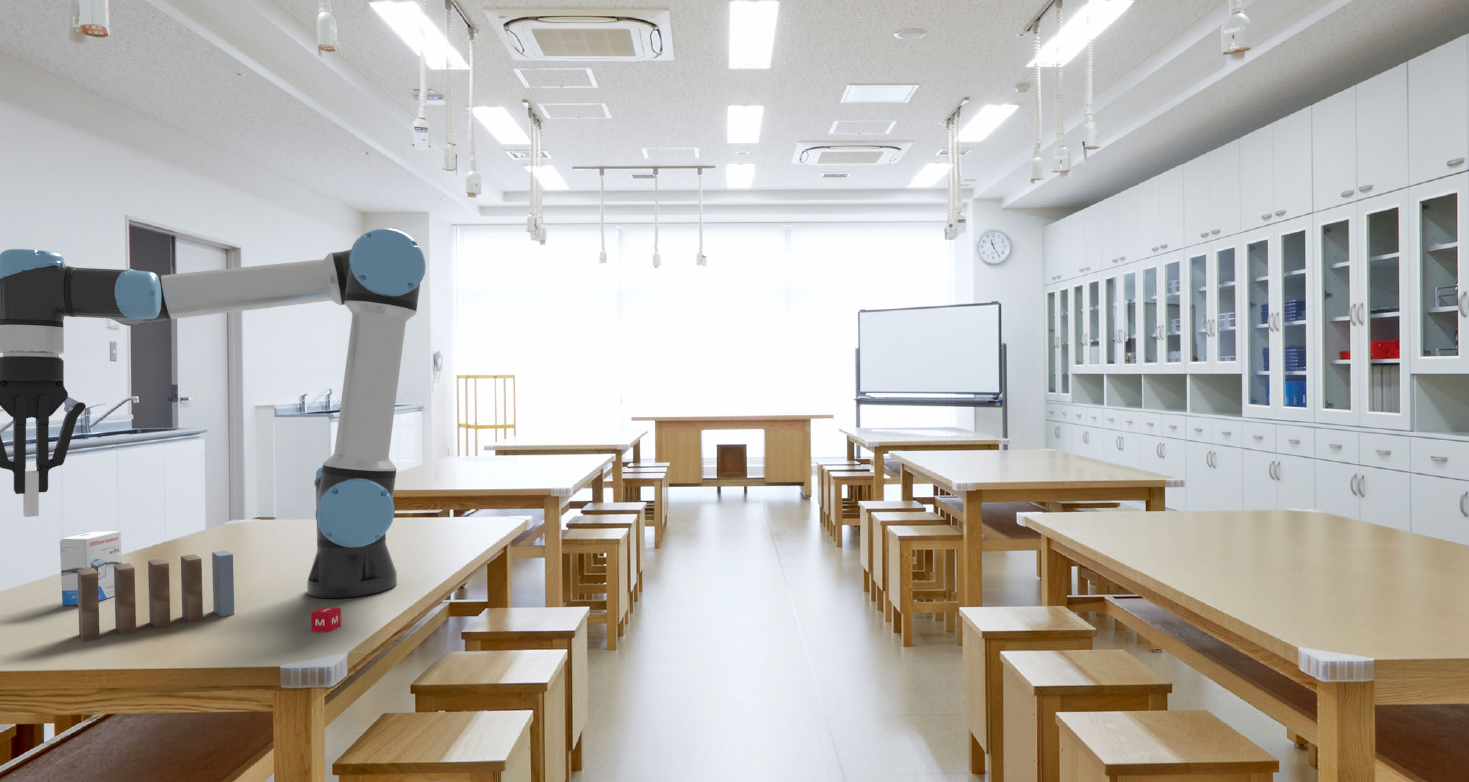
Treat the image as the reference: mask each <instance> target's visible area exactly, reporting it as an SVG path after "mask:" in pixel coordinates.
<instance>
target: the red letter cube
mask: <svg viewBox="0 0 1469 782" xmlns="http://www.w3.org/2000/svg"><path fill="white" fill-rule="evenodd" d="M341 611H342V610H341V607H333V606H332V607H330V606H329V607H328V606H327V607H324V606H323V607H321V608H318V609H316V610H314V611H311V612H310V620H311V621H310V623H311V624H310V625H311V626H310V627H311V628H310V631H311V632H313V633H314V632H316V633H317V632H318V633H319V632H321V633H329V632H333V631H334V630H336V629H338V628H340V627H342V618H341V617H342V615H341Z"/></svg>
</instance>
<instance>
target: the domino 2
mask: <svg viewBox="0 0 1469 782" xmlns="http://www.w3.org/2000/svg"><path fill="white" fill-rule="evenodd" d="M147 566H148V568H147V570H148V605H149V606H148V610H149V611H148V613H149V624H150V625H151V626H153V627H154V629H161V628H166V627H171V594H170V593H171V592H170V591H171V590H170V562H168V561H167V560H166V559H164V558H158V559H151V560H150V559H149V560H147Z"/></svg>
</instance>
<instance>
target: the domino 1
mask: <svg viewBox="0 0 1469 782" xmlns="http://www.w3.org/2000/svg"><path fill="white" fill-rule="evenodd" d="M135 572H136V571H135V567H134V566H133V565H132V564H131V563H130V562H128V563H122V564H119V565H114V589H115V596H114V611H115V612H114V614H115V615H114V616H115V618H114V619H115V621H114V623H115V629H116V631H117V633H119V635H120V634H122V635H127V634H133V633H136V632H137V613H136V612H137V611H136V610H137V609H136V608H137V606H136V579H135V577H136V573H135Z"/></svg>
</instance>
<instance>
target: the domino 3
mask: <svg viewBox="0 0 1469 782" xmlns="http://www.w3.org/2000/svg"><path fill="white" fill-rule="evenodd" d="M202 566H203V565H202V558H201V557H200V556H198V555H197V554H188V555H181V556H180V576H181V577H180V581H181V586H180V587H181V617H182V618H183V619H184V620H185V621H186V622H187V623H193V622H194V623H195V622H198V621H203V620H204V602H203V567H202Z"/></svg>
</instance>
